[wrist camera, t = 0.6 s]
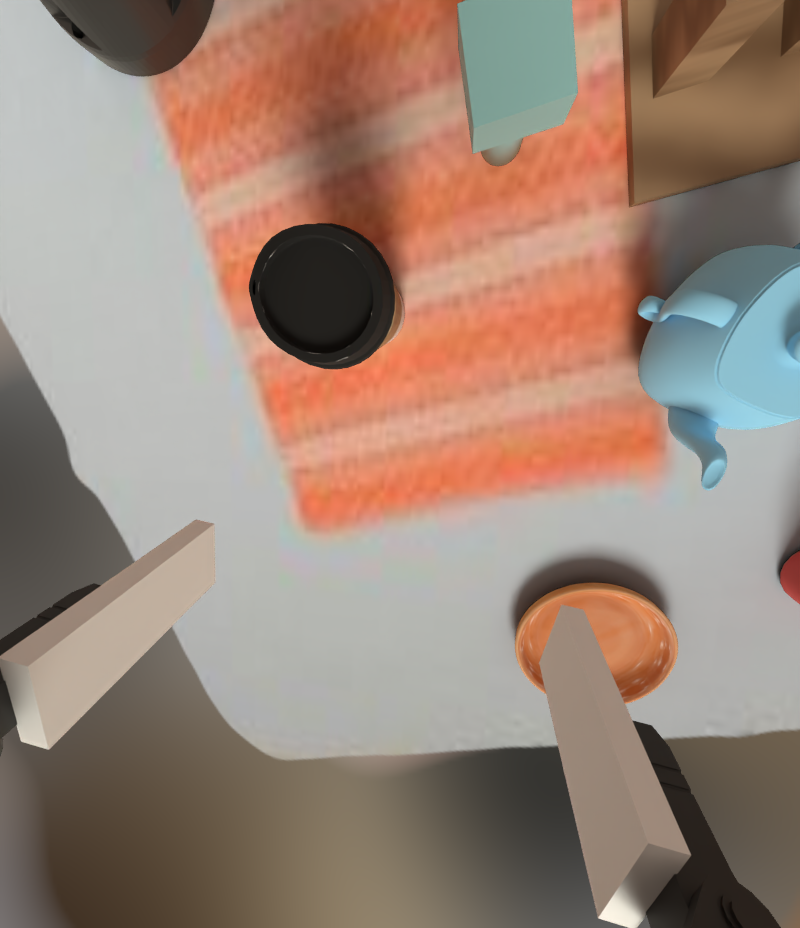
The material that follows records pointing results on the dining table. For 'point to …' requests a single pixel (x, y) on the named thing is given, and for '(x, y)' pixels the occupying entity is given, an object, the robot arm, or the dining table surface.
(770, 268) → the teapot
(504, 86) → the peg
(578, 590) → the saucer
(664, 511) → the dining table surface
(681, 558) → the dining table surface
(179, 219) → the dining table surface
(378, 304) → the coffee cup
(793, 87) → the bracket
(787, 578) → the beer can
